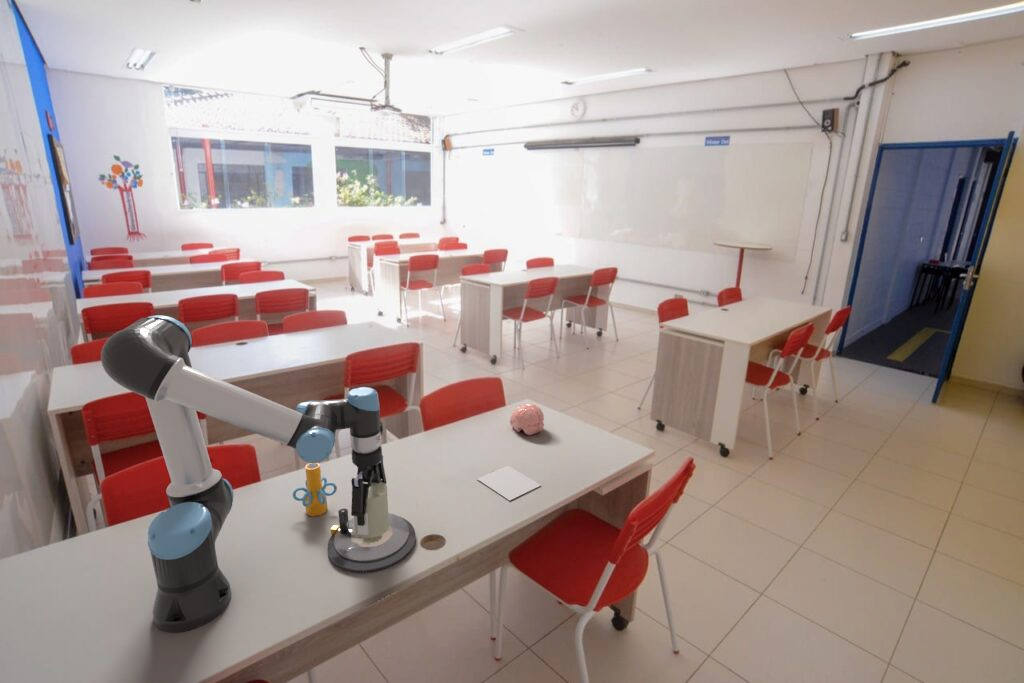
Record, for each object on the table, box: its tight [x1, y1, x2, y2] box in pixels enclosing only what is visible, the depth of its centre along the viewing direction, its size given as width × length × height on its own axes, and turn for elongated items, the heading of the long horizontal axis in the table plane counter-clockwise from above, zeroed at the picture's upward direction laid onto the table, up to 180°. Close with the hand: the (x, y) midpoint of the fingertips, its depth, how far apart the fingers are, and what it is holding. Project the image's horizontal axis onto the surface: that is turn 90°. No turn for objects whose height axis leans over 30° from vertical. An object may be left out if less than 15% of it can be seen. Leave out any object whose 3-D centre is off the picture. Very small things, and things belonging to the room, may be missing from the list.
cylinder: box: [292, 462, 338, 517], centre depth 152 cm, size 12×10×15 cm
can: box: [353, 482, 390, 538], centre depth 137 cm, size 9×9×12 cm
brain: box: [509, 403, 545, 436], centre depth 209 cm, size 16×13×12 cm
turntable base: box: [327, 516, 416, 574], centre depth 139 cm, size 23×23×4 cm
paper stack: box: [477, 465, 542, 501], centre depth 171 cm, size 23×25×1 cm
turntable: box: [334, 508, 409, 563], centre depth 138 cm, size 20×20×7 cm
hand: (371, 522), depth 138 cm, fingers closed on can, 9 cm apart
